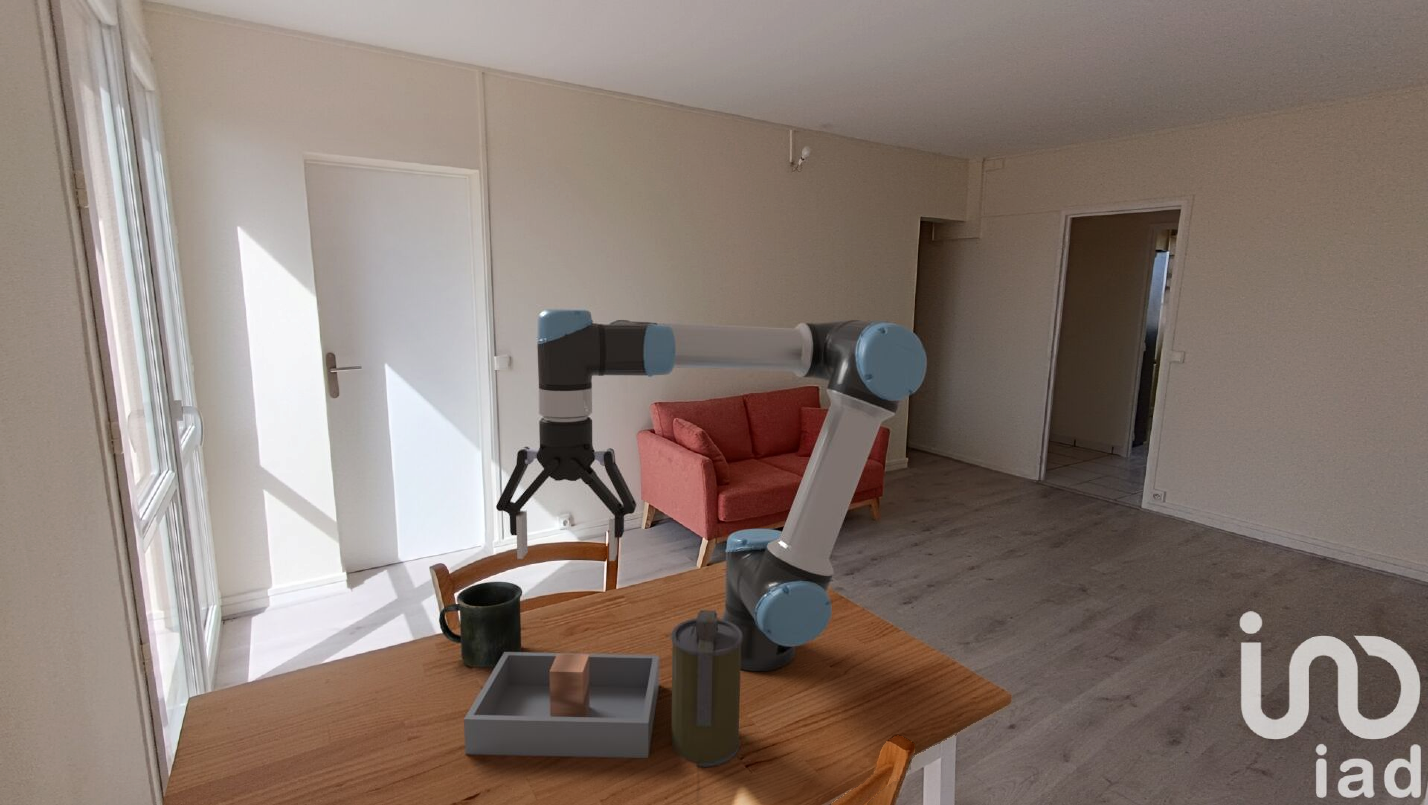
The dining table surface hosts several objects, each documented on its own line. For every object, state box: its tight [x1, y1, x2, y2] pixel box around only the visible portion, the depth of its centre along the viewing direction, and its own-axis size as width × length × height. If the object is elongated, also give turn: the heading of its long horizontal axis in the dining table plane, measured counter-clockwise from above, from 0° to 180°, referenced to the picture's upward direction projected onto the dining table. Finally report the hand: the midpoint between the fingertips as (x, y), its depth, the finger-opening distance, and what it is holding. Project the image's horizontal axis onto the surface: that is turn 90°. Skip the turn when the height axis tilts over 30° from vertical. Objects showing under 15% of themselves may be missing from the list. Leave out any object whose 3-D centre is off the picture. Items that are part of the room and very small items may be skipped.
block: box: [549, 653, 590, 717], centre depth 102 cm, size 5×5×9 cm
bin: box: [463, 651, 660, 759], centre depth 102 cm, size 26×18×6 cm
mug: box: [438, 581, 523, 668], centre depth 120 cm, size 11×15×12 cm
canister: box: [670, 609, 743, 768], centre depth 96 cm, size 11×10×20 cm
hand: (567, 556), depth 99 cm, fingers open, 13 cm apart
